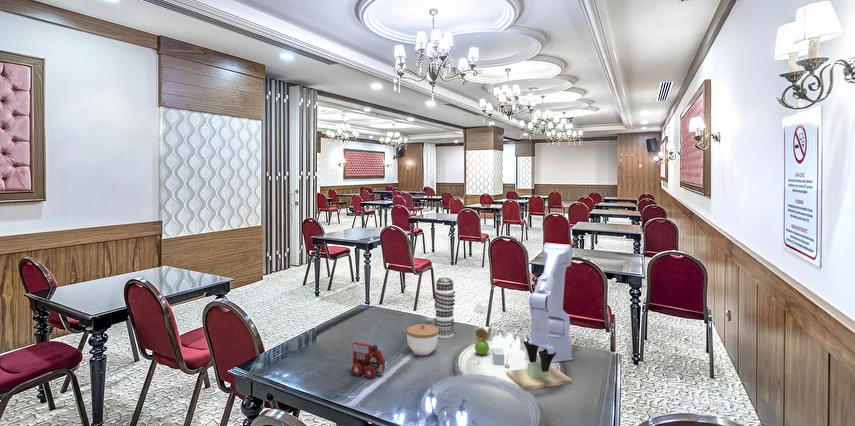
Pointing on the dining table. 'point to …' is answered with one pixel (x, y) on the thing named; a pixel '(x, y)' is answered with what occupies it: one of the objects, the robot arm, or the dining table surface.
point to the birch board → (538, 379)
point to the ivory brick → (536, 359)
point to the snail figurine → (482, 340)
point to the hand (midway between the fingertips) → (538, 366)
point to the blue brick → (498, 356)
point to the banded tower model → (444, 307)
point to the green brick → (536, 370)
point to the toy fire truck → (367, 360)
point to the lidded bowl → (422, 338)
